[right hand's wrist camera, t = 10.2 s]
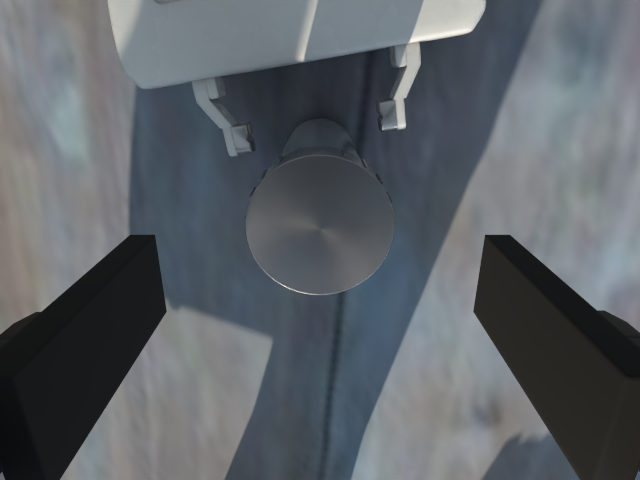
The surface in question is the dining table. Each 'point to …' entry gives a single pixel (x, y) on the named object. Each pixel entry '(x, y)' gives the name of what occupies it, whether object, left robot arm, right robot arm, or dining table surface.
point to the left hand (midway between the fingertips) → (316, 141)
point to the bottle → (320, 136)
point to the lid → (319, 221)
